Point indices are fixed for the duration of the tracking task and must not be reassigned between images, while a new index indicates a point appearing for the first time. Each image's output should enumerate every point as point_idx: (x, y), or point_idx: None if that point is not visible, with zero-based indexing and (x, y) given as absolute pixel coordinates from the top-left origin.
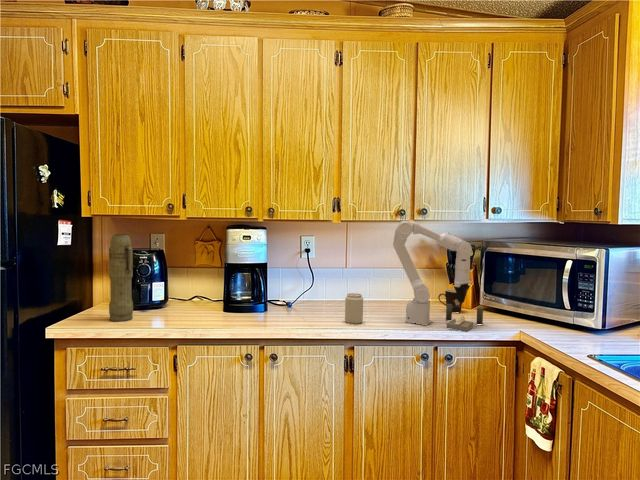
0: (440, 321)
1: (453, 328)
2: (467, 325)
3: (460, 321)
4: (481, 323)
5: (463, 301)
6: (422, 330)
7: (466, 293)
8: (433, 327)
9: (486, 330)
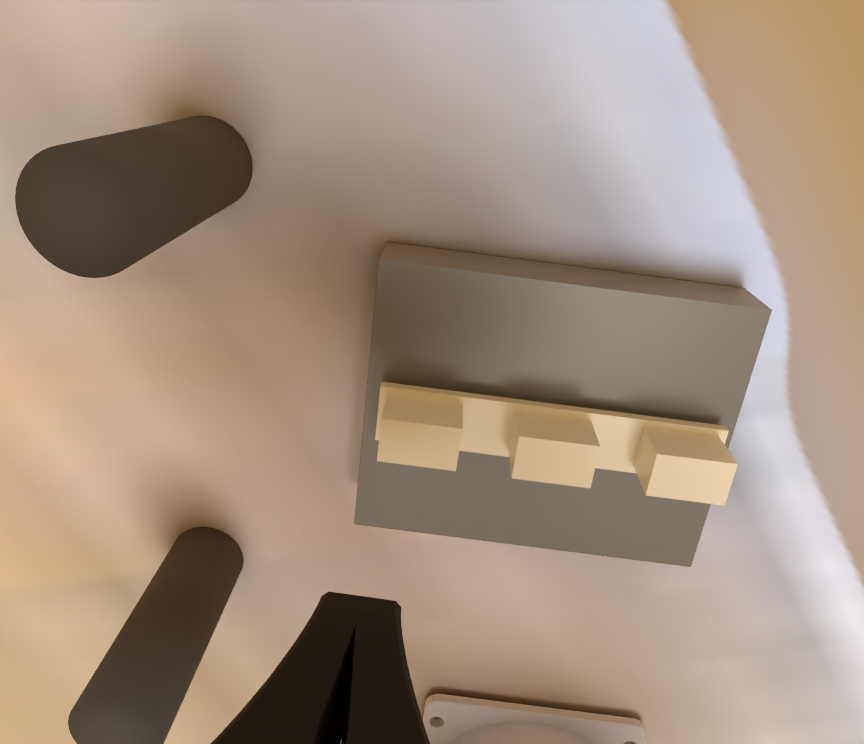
0: None
1: None
2: (669, 312)
3: (591, 430)
4: (226, 133)
5: (396, 616)
6: (861, 719)
7: (225, 734)
8: (674, 649)
9: (513, 18)
